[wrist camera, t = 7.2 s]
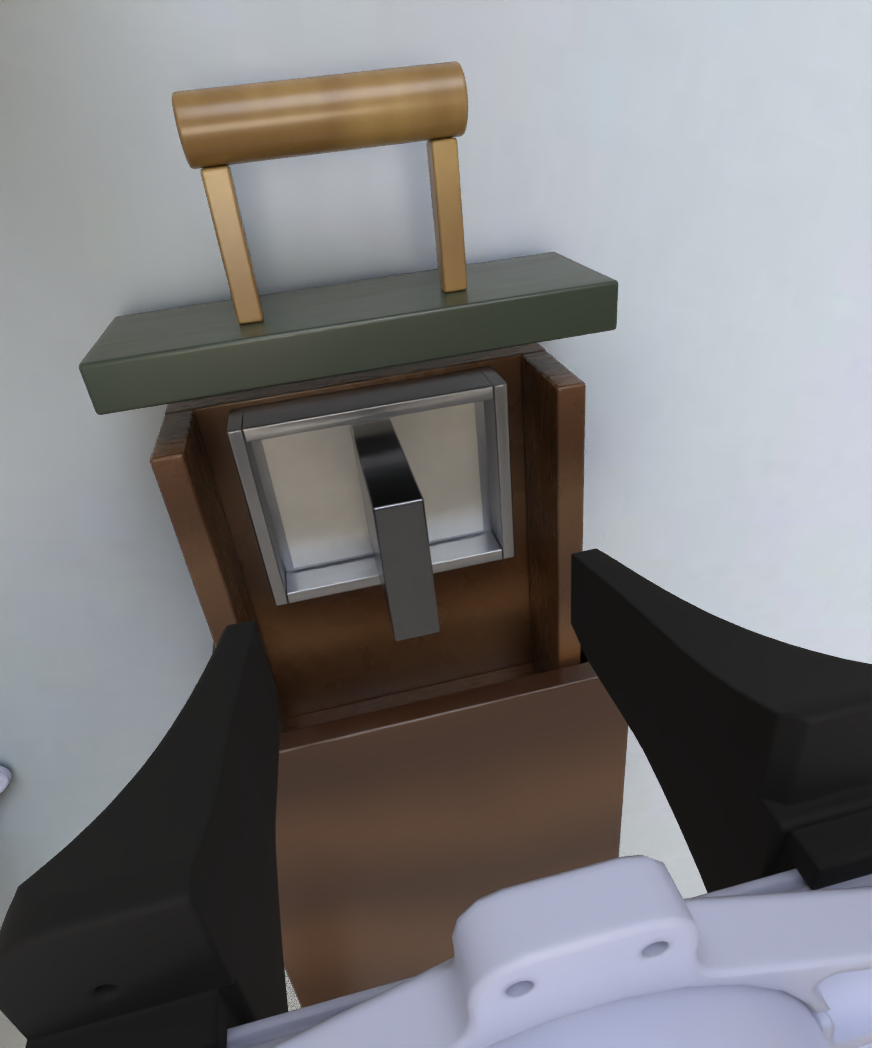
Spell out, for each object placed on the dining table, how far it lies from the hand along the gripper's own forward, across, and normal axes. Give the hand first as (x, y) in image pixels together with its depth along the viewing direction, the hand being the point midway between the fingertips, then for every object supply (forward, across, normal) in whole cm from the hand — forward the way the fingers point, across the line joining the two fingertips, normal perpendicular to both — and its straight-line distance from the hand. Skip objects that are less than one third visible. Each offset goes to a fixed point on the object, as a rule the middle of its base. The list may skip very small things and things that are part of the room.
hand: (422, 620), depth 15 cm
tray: (+7, 0, 0) cm, 7 cm away
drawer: (+8, 0, 0) cm, 8 cm away
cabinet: (+9, 0, +14) cm, 17 cm away
